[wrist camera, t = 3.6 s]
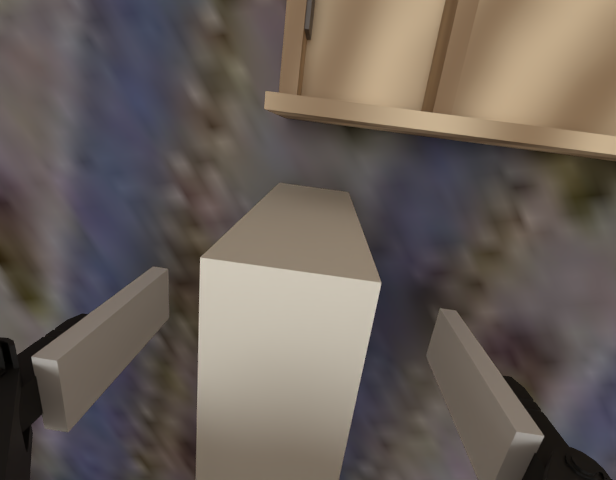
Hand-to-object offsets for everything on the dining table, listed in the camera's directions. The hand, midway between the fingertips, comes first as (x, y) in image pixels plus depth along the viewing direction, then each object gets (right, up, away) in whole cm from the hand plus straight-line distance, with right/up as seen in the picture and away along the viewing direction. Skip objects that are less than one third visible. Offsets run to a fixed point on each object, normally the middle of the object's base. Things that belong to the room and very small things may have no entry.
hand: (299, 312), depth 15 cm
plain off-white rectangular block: (0, +1, +5) cm, 5 cm away
